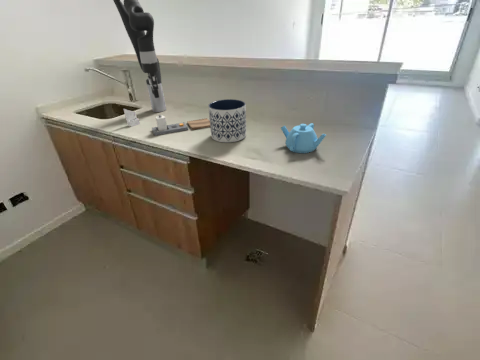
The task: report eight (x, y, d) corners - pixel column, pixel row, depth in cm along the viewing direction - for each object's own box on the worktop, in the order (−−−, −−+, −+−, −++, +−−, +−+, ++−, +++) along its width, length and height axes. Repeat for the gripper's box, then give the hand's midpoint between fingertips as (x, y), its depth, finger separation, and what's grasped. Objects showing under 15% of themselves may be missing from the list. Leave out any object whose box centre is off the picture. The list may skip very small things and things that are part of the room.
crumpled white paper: (119, 123, 154) (123, 108, 152) (135, 127, 162) (138, 113, 161) (123, 124, 152) (127, 109, 151) (138, 128, 160) (142, 114, 159)
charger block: (158, 130, 149) (155, 114, 144) (166, 129, 150) (163, 113, 146) (159, 133, 146) (156, 117, 141) (167, 131, 147) (164, 115, 142)
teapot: (309, 138, 133) (311, 116, 127) (324, 153, 119) (328, 129, 113) (279, 141, 131) (280, 119, 125) (291, 157, 117) (292, 133, 111)
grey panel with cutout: (152, 130, 150) (151, 126, 149) (184, 124, 156) (184, 120, 154) (154, 135, 143) (153, 131, 142) (188, 129, 149) (187, 125, 147)
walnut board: (187, 123, 157) (187, 121, 157) (207, 120, 161) (206, 118, 160) (192, 130, 148) (192, 128, 147) (213, 126, 152) (213, 124, 151)
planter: (207, 133, 144) (204, 102, 135) (239, 127, 149) (237, 97, 140) (217, 145, 129) (214, 112, 121) (251, 139, 135) (251, 106, 126)
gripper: (139, 60, 134) (146, 93, 142) (142, 64, 123) (149, 100, 131) (155, 59, 136) (161, 91, 145) (159, 62, 125) (165, 98, 133)
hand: (155, 95), depth 138 cm, fingers open, 8 cm apart
